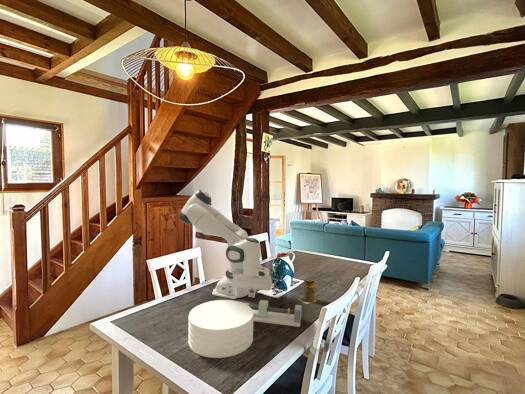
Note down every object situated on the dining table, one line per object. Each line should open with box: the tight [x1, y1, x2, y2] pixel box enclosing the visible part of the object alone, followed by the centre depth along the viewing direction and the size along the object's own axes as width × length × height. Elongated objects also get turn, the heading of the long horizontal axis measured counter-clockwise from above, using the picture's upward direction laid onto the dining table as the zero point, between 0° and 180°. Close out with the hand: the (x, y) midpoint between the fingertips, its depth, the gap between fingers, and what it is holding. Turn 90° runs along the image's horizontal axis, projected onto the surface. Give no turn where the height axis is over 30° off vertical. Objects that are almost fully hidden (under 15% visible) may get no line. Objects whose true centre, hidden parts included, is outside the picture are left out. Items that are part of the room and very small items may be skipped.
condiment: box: [298, 278, 318, 305], centre depth 166 cm, size 7×8×12 cm
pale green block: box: [258, 299, 269, 317], centre depth 144 cm, size 4×4×6 cm
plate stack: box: [187, 299, 254, 359], centre depth 124 cm, size 28×28×12 cm
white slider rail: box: [243, 302, 302, 328], centre depth 143 cm, size 30×10×7 cm, turn 78°
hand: (251, 296), depth 145 cm, fingers closed
